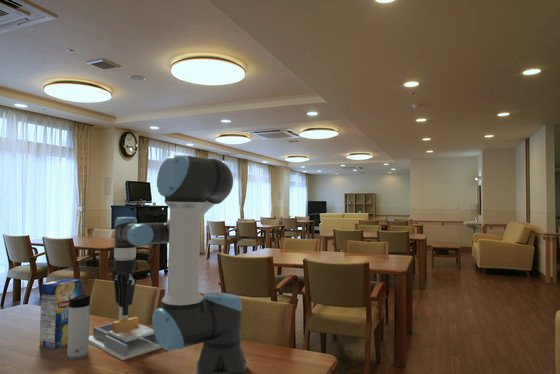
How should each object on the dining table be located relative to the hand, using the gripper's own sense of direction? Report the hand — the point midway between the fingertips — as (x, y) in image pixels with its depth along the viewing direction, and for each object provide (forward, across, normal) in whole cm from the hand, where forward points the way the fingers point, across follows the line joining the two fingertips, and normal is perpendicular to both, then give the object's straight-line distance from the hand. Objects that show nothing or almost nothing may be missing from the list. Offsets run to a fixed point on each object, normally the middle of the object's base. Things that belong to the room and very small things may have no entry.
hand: (123, 323), depth 140 cm
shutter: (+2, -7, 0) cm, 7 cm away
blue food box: (+7, +17, +15) cm, 24 cm away
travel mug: (+7, -1, +16) cm, 18 cm away
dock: (+7, -1, 0) cm, 7 cm away
